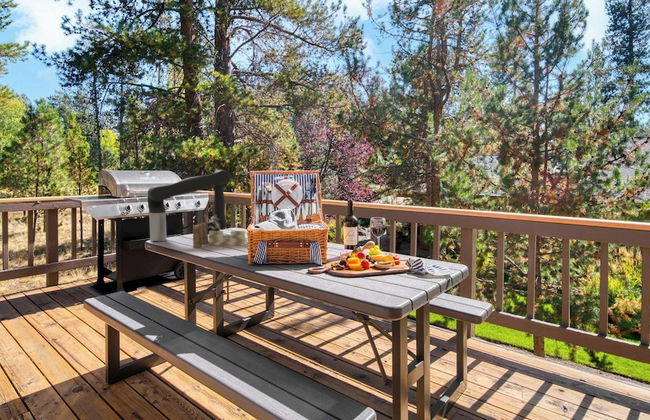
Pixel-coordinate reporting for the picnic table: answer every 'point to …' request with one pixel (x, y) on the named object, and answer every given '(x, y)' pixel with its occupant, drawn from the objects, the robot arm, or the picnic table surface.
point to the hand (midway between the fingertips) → (204, 231)
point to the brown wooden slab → (200, 234)
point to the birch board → (218, 239)
